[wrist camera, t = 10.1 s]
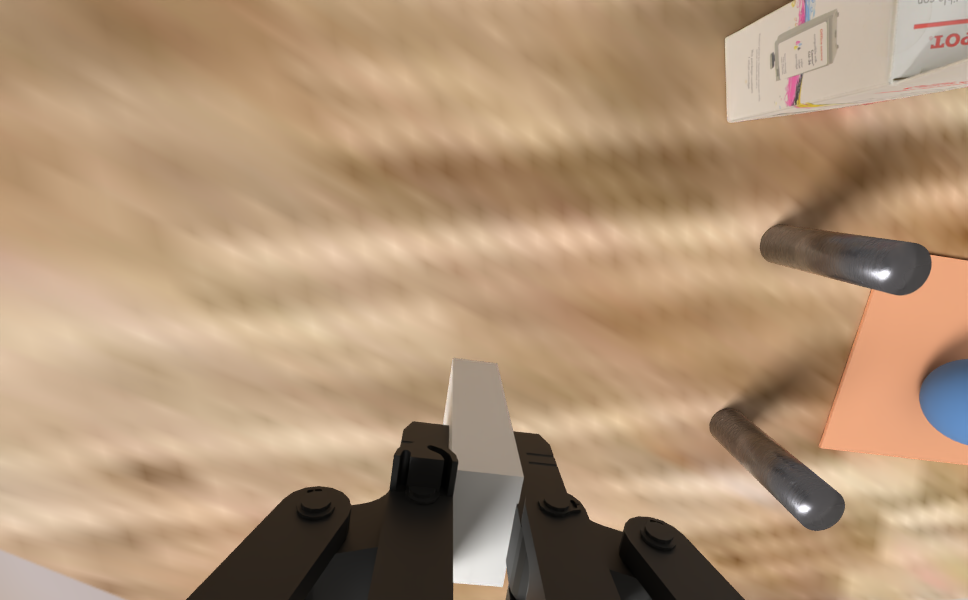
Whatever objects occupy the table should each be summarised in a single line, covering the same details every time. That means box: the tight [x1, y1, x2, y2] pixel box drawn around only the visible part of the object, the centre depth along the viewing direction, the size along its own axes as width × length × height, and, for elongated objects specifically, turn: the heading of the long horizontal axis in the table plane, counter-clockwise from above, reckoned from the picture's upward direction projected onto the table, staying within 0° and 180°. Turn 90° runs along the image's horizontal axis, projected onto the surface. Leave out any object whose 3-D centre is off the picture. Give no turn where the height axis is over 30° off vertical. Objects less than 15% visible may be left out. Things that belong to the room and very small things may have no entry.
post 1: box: [710, 408, 845, 531], centre depth 29 cm, size 2×2×9 cm
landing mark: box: [819, 255, 968, 465], centre depth 34 cm, size 14×14×1 cm
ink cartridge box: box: [725, 0, 968, 123], centre depth 22 cm, size 9×5×15 cm, turn 97°
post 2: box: [760, 225, 932, 296], centre depth 27 cm, size 2×2×9 cm
